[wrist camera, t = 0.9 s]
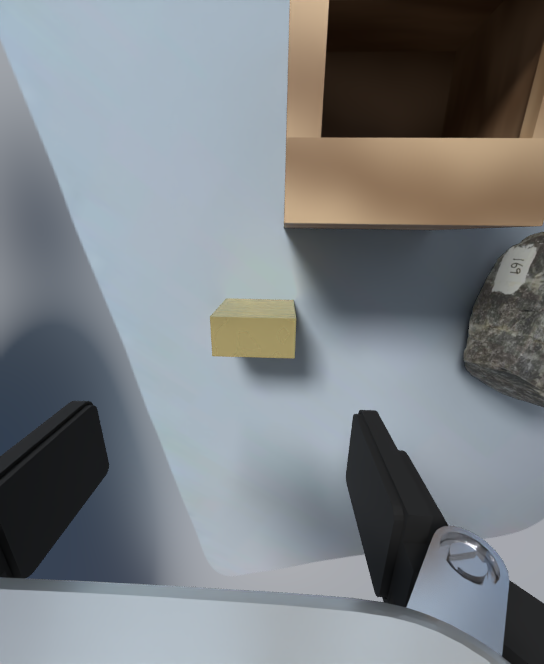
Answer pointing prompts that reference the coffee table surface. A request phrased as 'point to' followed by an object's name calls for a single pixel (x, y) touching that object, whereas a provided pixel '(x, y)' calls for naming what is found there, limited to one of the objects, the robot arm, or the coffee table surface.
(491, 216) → the box
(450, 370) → the coffee table surface
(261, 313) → the brushed brass block
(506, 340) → the stone
